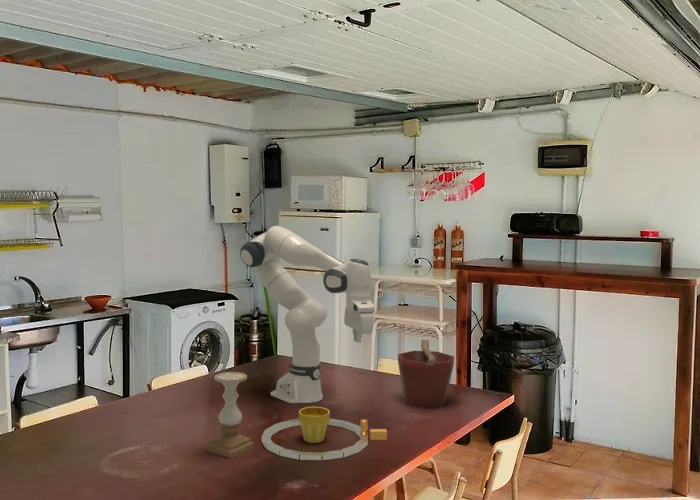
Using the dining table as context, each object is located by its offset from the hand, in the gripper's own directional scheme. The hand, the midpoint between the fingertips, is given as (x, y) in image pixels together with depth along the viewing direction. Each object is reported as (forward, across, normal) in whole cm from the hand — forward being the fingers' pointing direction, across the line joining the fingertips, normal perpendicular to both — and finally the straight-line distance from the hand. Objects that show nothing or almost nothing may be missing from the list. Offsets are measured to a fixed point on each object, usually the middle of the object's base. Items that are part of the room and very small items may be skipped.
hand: (357, 341), depth 228 cm
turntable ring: (+29, +15, -20) cm, 38 cm away
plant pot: (+29, +14, -20) cm, 39 cm away
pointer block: (+29, +20, 0) cm, 35 cm away
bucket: (+29, -13, +34) cm, 47 cm away
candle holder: (+29, +15, -48) cm, 59 cm away
